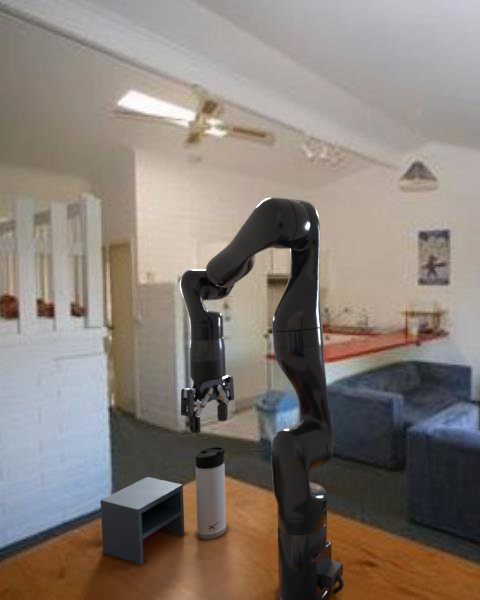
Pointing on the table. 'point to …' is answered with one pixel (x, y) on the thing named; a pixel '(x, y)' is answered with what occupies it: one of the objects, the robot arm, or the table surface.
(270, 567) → the table surface
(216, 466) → the travel mug
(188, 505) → the table surface
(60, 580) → the table surface
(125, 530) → the shelf
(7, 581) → the table surface
